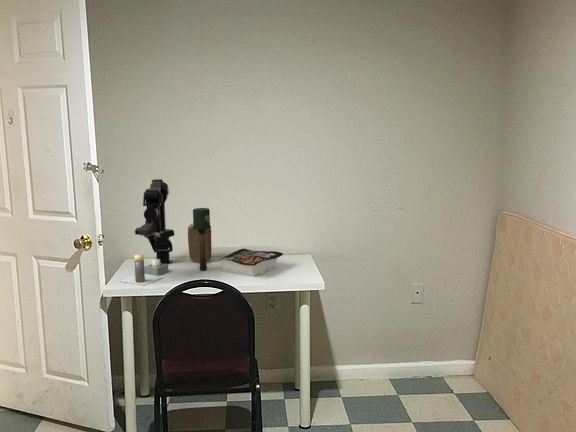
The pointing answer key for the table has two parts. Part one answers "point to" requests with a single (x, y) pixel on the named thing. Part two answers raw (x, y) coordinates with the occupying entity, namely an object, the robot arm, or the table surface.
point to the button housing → (156, 269)
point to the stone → (198, 244)
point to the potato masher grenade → (202, 232)
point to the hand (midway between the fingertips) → (155, 250)
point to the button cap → (155, 262)
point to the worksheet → (147, 280)
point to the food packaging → (250, 262)
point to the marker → (139, 268)
